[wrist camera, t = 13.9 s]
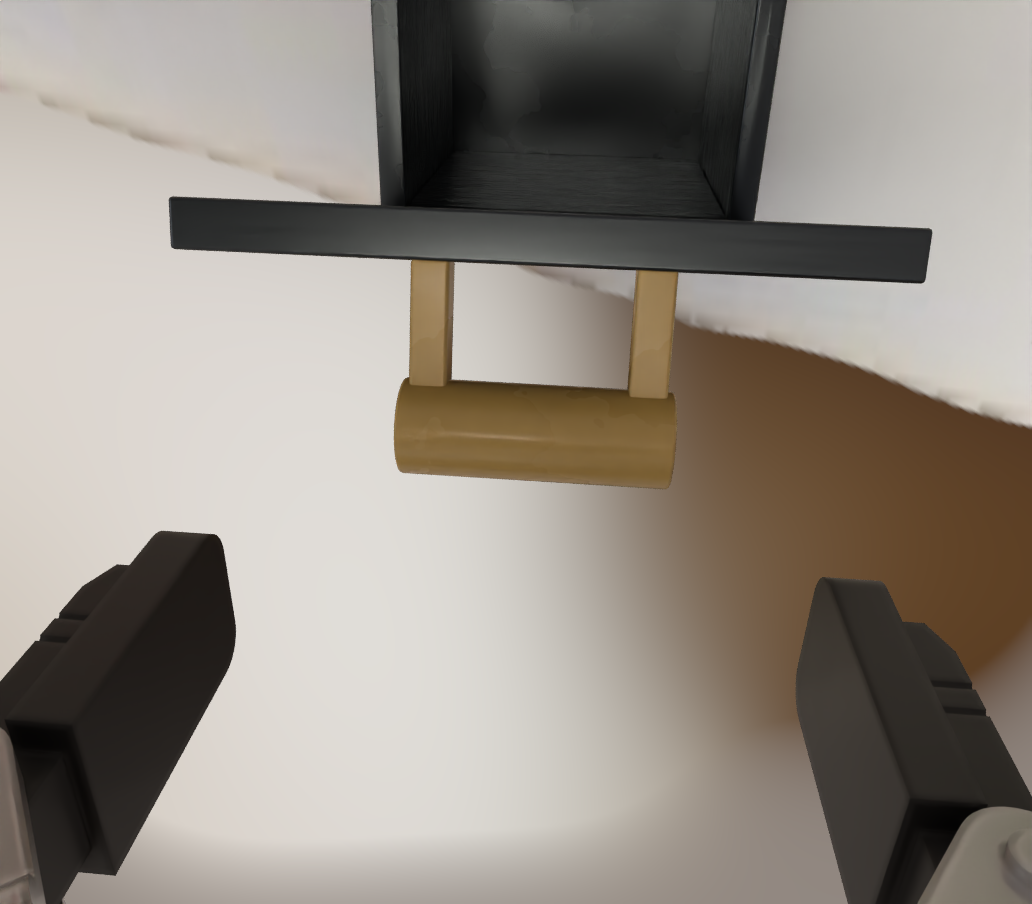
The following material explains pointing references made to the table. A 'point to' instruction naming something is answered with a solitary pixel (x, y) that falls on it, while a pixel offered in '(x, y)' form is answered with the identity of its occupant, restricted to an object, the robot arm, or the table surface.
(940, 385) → the table surface
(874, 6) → the table surface
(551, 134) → the black hollow box
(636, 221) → the drawer with gold handle
